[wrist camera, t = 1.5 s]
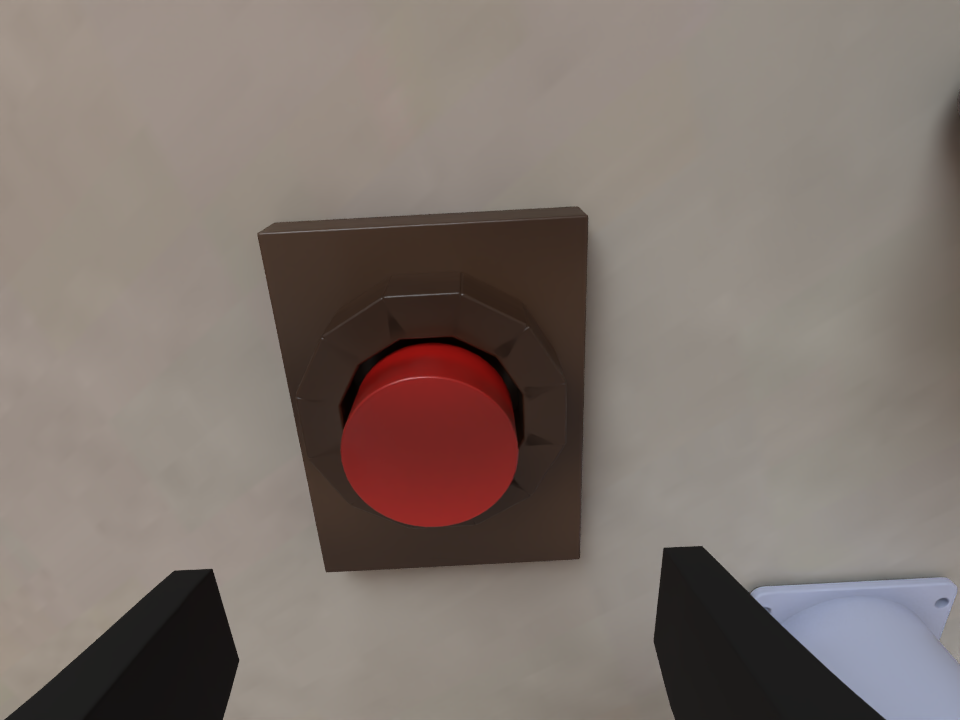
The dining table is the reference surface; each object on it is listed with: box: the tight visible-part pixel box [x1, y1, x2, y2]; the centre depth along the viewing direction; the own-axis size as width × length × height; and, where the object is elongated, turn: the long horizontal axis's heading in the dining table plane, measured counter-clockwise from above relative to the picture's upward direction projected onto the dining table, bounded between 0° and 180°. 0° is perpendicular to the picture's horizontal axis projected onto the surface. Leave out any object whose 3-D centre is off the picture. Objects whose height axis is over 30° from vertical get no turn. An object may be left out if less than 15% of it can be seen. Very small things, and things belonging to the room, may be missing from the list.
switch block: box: [258, 207, 588, 572], centre depth 18 cm, size 12×9×4 cm
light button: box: [340, 343, 519, 527], centre depth 15 cm, size 4×4×2 cm
